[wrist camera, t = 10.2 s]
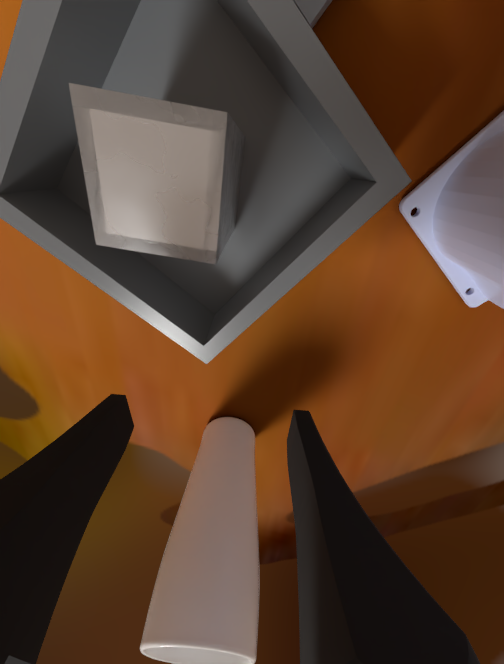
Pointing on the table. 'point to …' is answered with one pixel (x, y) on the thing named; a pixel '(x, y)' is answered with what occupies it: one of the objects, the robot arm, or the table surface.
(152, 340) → the table surface
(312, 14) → the base
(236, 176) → the light grey block
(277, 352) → the table surface
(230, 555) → the drinking glass
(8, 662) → the robot arm
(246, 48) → the bin
